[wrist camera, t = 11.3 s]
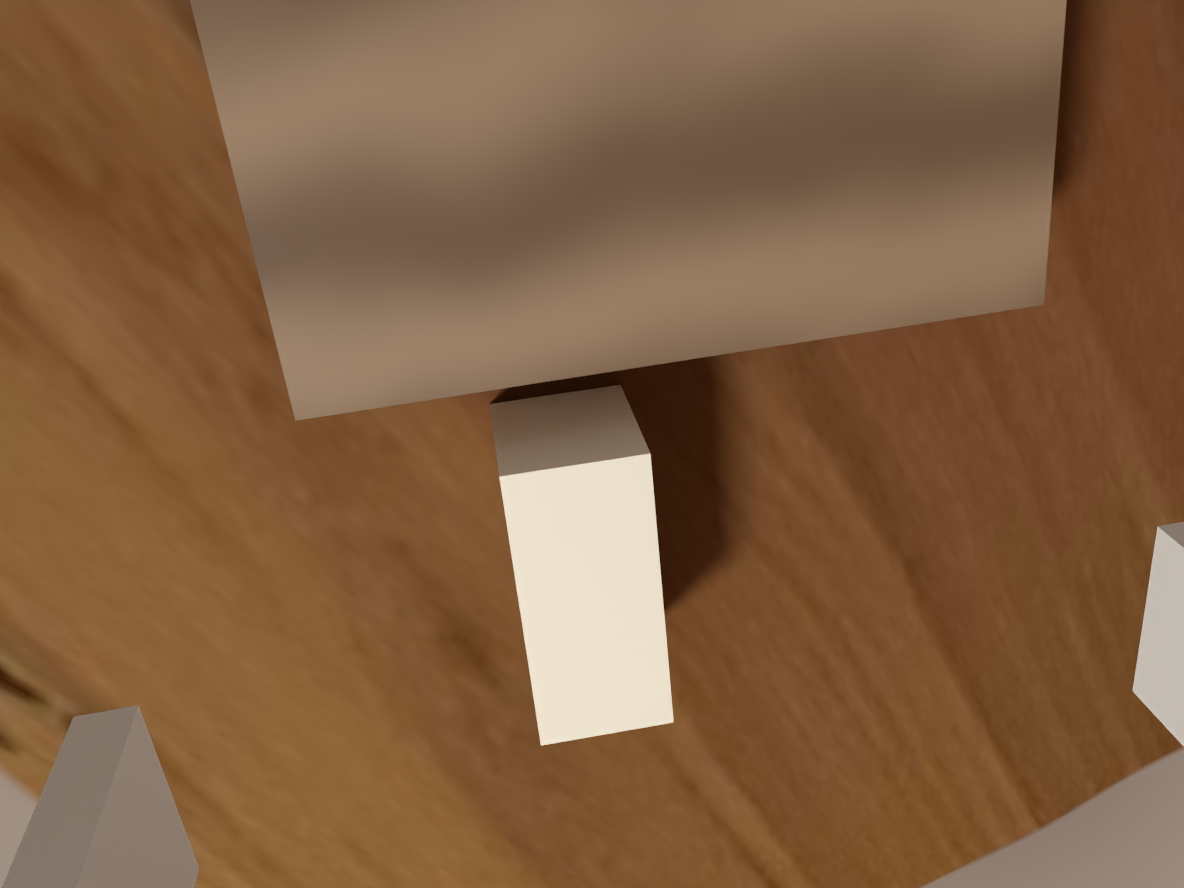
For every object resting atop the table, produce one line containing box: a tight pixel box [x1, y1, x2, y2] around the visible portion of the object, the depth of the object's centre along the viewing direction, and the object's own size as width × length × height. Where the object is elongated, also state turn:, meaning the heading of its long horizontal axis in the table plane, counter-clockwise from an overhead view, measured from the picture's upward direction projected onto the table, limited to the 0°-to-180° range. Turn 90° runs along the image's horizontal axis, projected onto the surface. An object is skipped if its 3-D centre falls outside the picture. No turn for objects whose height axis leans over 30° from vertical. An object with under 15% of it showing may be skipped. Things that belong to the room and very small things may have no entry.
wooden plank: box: [190, 0, 1067, 421], centre depth 28 cm, size 10×20×4 cm, turn 97°
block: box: [489, 385, 674, 745], centre depth 33 cm, size 5×4×9 cm
